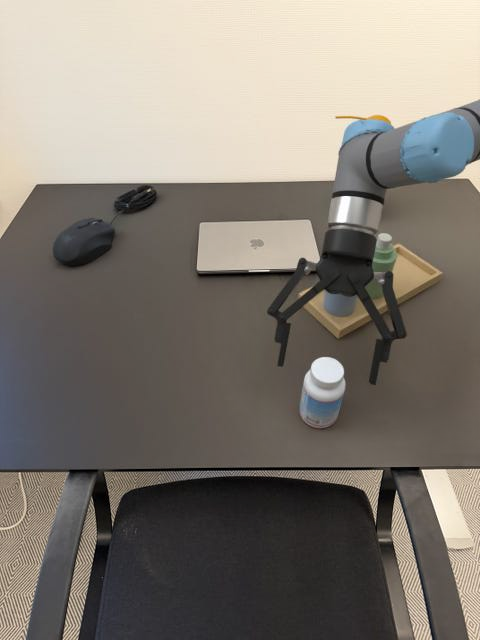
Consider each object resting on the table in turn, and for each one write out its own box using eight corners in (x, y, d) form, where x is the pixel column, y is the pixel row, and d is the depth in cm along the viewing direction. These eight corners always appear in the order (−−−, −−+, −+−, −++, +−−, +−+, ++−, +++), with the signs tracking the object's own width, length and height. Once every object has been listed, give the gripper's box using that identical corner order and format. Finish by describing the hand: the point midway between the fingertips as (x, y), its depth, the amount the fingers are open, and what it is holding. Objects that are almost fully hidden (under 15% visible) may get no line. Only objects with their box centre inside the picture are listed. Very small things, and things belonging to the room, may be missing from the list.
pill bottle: (345, 416, 74) (359, 374, 65) (315, 436, 71) (326, 394, 63) (320, 390, 77) (329, 346, 69) (291, 408, 75) (297, 364, 66)
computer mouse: (46, 262, 99) (38, 241, 95) (134, 188, 119) (130, 168, 115) (82, 275, 96) (75, 254, 92) (166, 197, 116) (163, 177, 112)
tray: (396, 251, 102) (398, 243, 100) (439, 281, 95) (442, 272, 94) (297, 301, 91) (298, 293, 89) (338, 339, 85) (340, 330, 83)
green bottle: (389, 284, 93) (405, 232, 84) (381, 302, 90) (397, 251, 81) (360, 274, 95) (373, 223, 86) (351, 292, 92) (363, 241, 83)
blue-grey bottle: (358, 300, 90) (372, 249, 81) (348, 321, 87) (361, 269, 77) (329, 291, 92) (339, 239, 83) (318, 310, 88) (327, 258, 79)
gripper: (433, 248, 70) (407, 387, 71) (270, 225, 74) (247, 356, 75) (447, 241, 63) (417, 395, 64) (265, 215, 67) (239, 360, 68)
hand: (325, 374), depth 70 cm, fingers open, 13 cm apart
